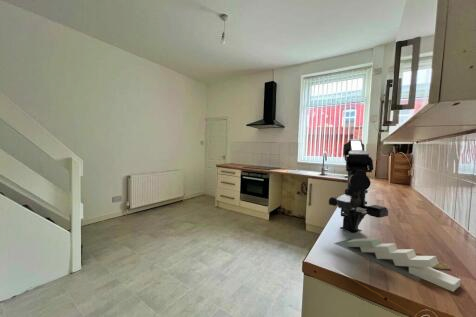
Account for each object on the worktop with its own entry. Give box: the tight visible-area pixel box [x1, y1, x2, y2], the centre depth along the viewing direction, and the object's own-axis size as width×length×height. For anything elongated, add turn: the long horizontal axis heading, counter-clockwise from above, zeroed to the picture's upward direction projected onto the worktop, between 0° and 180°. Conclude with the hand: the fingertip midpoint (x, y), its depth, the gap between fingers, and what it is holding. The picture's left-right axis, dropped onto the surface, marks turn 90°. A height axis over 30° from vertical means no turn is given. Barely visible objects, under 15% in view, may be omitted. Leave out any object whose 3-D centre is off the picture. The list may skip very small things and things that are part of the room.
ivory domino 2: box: [375, 248, 416, 260], centre depth 63 cm, size 5×2×9 cm
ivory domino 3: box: [393, 255, 439, 268], centre depth 59 cm, size 5×2×9 cm
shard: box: [415, 252, 451, 270], centre depth 66 cm, size 11×8×2 cm
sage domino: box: [347, 237, 382, 247], centre depth 71 cm, size 5×2×9 cm
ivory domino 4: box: [409, 266, 461, 293], centre depth 55 cm, size 5×2×9 cm
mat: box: [334, 238, 422, 282], centre depth 67 cm, size 10×25×1 cm, turn 29°
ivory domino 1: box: [360, 243, 398, 253], centre depth 67 cm, size 5×2×9 cm
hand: (354, 229), depth 74 cm, fingers closed
